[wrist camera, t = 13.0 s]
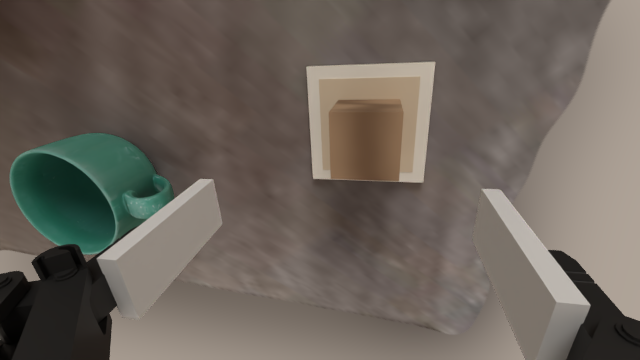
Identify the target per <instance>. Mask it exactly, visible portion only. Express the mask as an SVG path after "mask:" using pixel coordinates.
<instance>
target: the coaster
mask: <svg viewBox="0 0 640 360" xmlns="http://www.w3.org/2000/svg"><path fill="white" fill-rule="evenodd" d="M306 68H307V85H308V102H309V119H310V136H311V152H312V169H313V179H331V173H330V141H329V111H330V110H331V109H332V107H333V106H334V105H335V103H336V102H337V101H338V100H369V99H400V100H401V104H402V108H403V112H404V114H403V129H402V144H401V159H400V174H399V181H391V182H419V183H423V180H424V170H425V160H426V150H427V140H428V130H429V120H430V110H431V100H432V90H433V80H434V70H435V62H410V63H382V64H354V65H326V66H307V67H306ZM335 180H348V179H335ZM363 181H374V180H363Z"/></svg>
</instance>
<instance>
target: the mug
mask: <svg viewBox="0 0 640 360" xmlns="http://www.w3.org/2000/svg"><path fill="white" fill-rule="evenodd" d="M10 186H11V190H12V193H13V196H14V198H15V201H16V203H17V205H18V206H19V208H20V210H21V211H22V213H23V214H24V216H25V217H26V218H27V220H28V221H29V222H30V223H31V224H32V225H33V226H34V227H35V228H36V229H37V230H38V231H39V232H40V233H41V234H42V235H43V236H45V237H46V238H47V239H49V240H50V241H52V242H53V243H55V244H56V245H58V246H61V245H66V244H76V245H78V246H79V247H80V249H81V251H82V254H87V255H92V254H98V253H100V252H101V251H103V250H104V249H105V248H107V247H108V246H109V245H111V244H113V242H114V241H116V240H117V239H118V238H121V236H122V235H124V234H125V233H126V232H128V231H129V230H130V229H132V228H135V227H137V226H139V225H141V224H142V223H143V222H145V221H146V220H147V219H149V218H150V217H151V216H153V215H154V214H155V213H156V212H158V211H159V210H160V209H162V208H163V207H164V206H166V205H167V204H168V203H169V202H171V201H172V200H173V199H174V193H173V189H172V186H171V184H170V182H169V181H168V180H167V179H165V178H164V177H162V176H159V175H157V173H156V171H155V169H154V167H153V165H152V164H151V162H150V161H149V159H148V158H147V157H146V156H145V154H144V153H143V152H142V151H141V150H139V149H138V148H137V147H136V146H134V145H133V144H132V143H130V142H128V141H126V140H125V139H122V138H120V137H117V136H114V135H110V134H104V133H89V134H82V135H78V136H74V137H70V138H66V139H63V140H59V141H56V142H53V143H50V144H47V145H43V146H40V147H37V148H34V149H32V150H29V151H26V152H24V153H22V154H21V155H19V156H18V157H17V158H16V159H15V160H14V162H13V164H12V166H11V170H10Z"/></svg>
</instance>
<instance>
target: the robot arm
mask: <svg viewBox="0 0 640 360" xmlns="http://www.w3.org/2000/svg"><path fill="white" fill-rule="evenodd" d="M222 224H223V223H222V219H221V214H220V209H219V204H218V199H217V194H216V190H215V185H214V180H213V179H199V180H198V181H197V182H196V183H194V184H193V185H192V186H190V187H189V188H188V189H186V190H185V191H184V192H182V193H181V194H180V195H179V196H177V197H176V198H175V199H173V200H172V201H171V202H169V203H168V204H167V205H166V206H164V207H163V208H162V209H160V210H159V211H158V212H156V213H155V214H154V215H153V216H151V217H150V218H149V219H147V220H146V221H145V222H143V223H142V224H141V225H139V226H137V227H135V228H132V229H130V230H129V231H128V232H126V233H125V234H124V235H122V236H121V238H118V239H117V240H116V241H114V242H113V244H111V245H109V246H108V247H107V248H105V249H104V250H103V251H101V252H100V253H99V254H97V255H96V256H95V257H93V258H92V259H91V260H89V261H88V262H87V263H86V260H85V258H84V256H83V254H82V251H81V249H80V247H79V246H78V245H76V244H66V245H61V246H57V247H54V248H52V249H49V250H47V251H45V252H43V253H41V254H40V255H39V256H37V257H36V258H35V259H34V260H33V261H32V265H33V266H34V268H35V270H36V272H37V274H38V276H39V278H40V279H41V280H39V281H32V282H28V281H27V279H26V277H25V276H24V274H23V272H20V271H13V272H8V273H3V274H0V360H109V357H110V342H111V327H112V319H111V316H110V314H109V313H110V312H111V311H112V310H113V309H114V308H115V307H116V306H117V308H118V310H119V312H120V315H121V317H122V318H128V319H136V320H140V319H141V318H142V316H143V315H144V314H145V313H146V312H147V311H148V310H149V308H150V307H151V306H152V305H153V304H154V303H155V301H156V300H157V299H158V298H159V297H160V295H162V293H163V292H164V291H165V290H166V289H167V288H168V286H169V285H170V284H171V283H172V282H173V281H174V279H175V278H176V277H177V276H178V275H179V274H180V273H181V271H182V270H183V269H184V268H185V267H186V266H187V264H188V263H189V262H190V261H191V260H192V259H193V258H194V256H195V255H196V254H197V253H198V252H199V251H200V249H201V248H202V247H203V246H204V245H205V244H206V243H207V241H208V240H209V239H210V238H211V237H212V236H213V234H214V233H215V232H216V231H217V230H218V229H219V227H220V226H221V225H222ZM472 241H473V243H474V245H475V248H476V250H477V252H478V254H479V257H480V259H481V261H482V263H483V266H484V268H485V270H486V272H487V275H488V277H489V279H490V281H491V284H492V286H493V288H494V290H495V293H496V295H497V297H498V299H499V302H500V304H501V306H502V308H503V310H504V313H505V315H506V317H507V319H508V322H509V324H510V326H511V328H512V331H513V333H514V335H515V337H516V340H517V342H518V344H519V346H520V349H521V351H522V353H523V355H524V358H525V360H640V321H638V320H635V319H632V318H629V317H626V316H624V315H623V314H622V312H621V311H620V310H619V309H618V308H617V307H616V306H615V304H614V303H613V302H612V301H611V300H610V299H609V298H608V296H607V295H606V294H605V293H604V292H603V291H602V290H601V288H600V287H599V286H598V285H597V284H595V283H594V280H593V279H592V278H591V277H590V276H589V275H588V274H586V271H585V270H584V269H583V268H582V267H581V266H580V264H579V263H578V262H577V261H576V260H574V259H573V258H571V257H570V256H568V255H567V254H565V253H564V252H562V251H556V250H547V249H546V247H545V246H544V245H543V244H542V242H541V241H540V240H539V239H538V237H537V236H536V235H535V233H534V232H533V231H532V230H531V228H530V227H529V226H528V224H527V223H526V222H525V221H524V219H523V218H522V217H521V215H520V214H519V213H518V212H517V210H516V209H515V208H514V206H513V205H512V204H511V203H510V201H509V200H508V199H507V198H506V196H505V195H504V194H503V192H502V191H501V190H499V189H482V190H481V195H480V200H479V206H478V211H477V216H476V222H475V227H474V232H473V238H472Z"/></svg>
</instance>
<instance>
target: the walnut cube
mask: <svg viewBox="0 0 640 360" xmlns="http://www.w3.org/2000/svg"><path fill="white" fill-rule="evenodd" d="M403 114H404V112H403V108H402V104H401V100H400V99H369V100H338V101H337V102H336V103H335V105H334V106H333V107H332V109H331V110H330V111H329V141H330V173H331V179H348V180H374V181H399V174H400V159H401V144H402V129H403Z"/></svg>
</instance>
